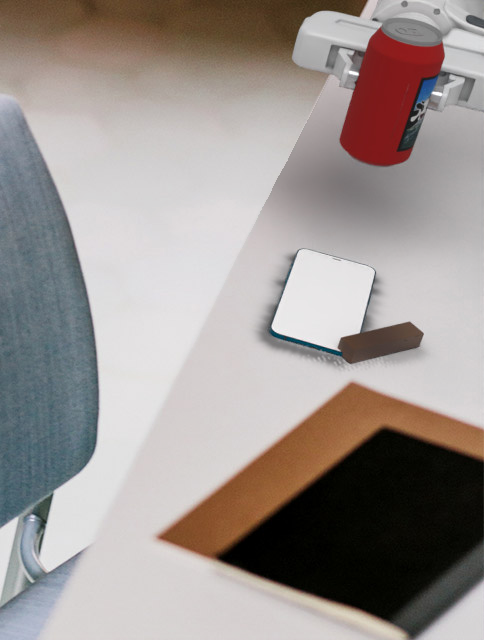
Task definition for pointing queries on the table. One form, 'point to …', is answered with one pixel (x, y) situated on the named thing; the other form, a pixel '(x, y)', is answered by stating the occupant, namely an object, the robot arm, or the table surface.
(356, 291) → the smartphone
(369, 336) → the walnut stick
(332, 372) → the table surface
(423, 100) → the beverage can
